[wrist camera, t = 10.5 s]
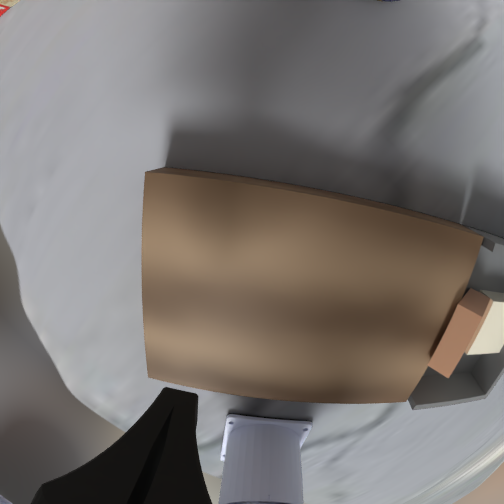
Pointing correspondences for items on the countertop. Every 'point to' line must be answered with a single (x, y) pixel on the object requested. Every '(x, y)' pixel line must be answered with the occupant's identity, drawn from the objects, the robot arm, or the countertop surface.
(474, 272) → the bin
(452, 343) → the tile front
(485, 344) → the tile back
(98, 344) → the countertop surface
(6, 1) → the stack of blocks
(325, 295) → the wooden serving tray
